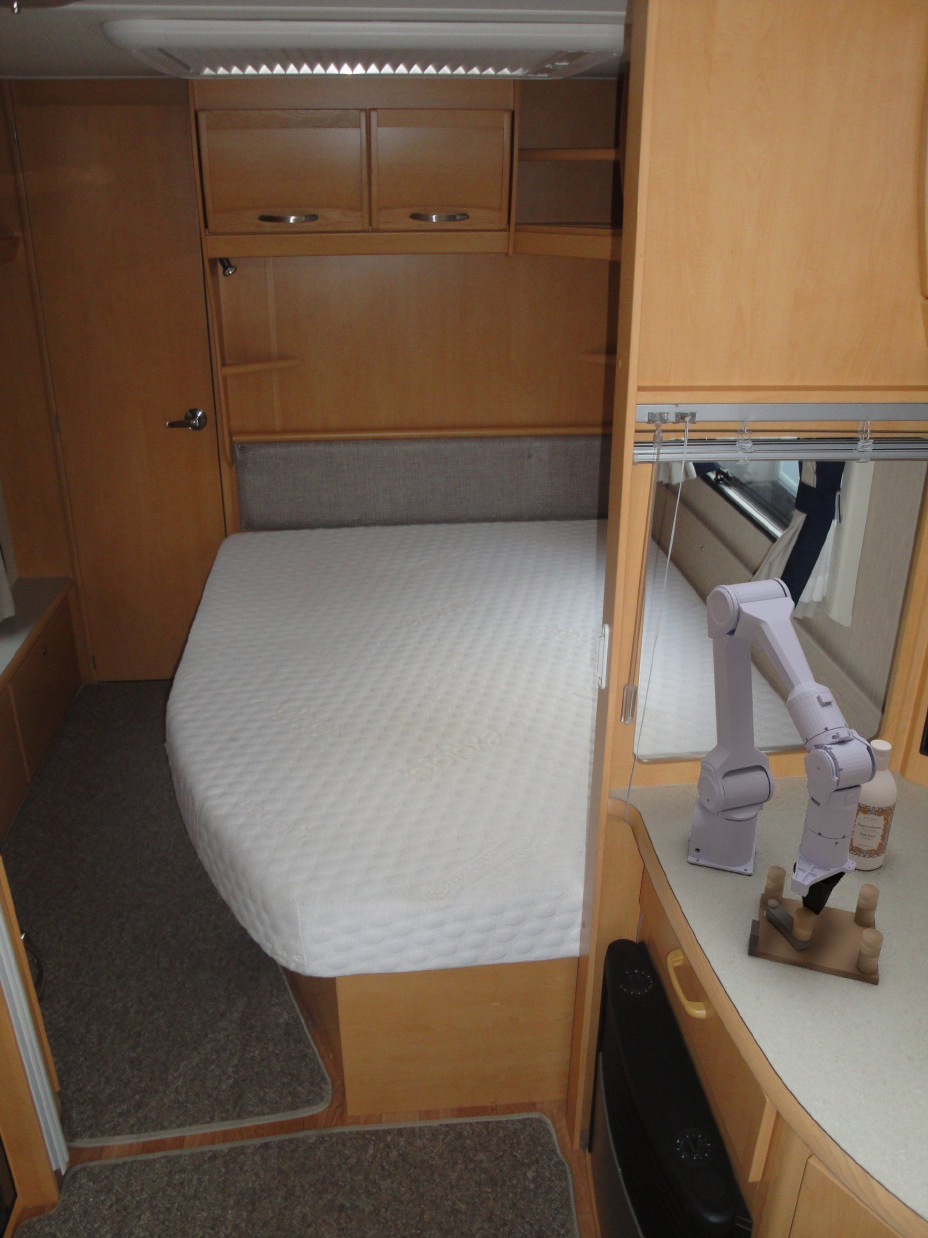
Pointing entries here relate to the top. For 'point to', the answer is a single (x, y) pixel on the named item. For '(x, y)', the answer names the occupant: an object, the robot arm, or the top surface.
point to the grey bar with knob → (792, 923)
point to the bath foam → (874, 813)
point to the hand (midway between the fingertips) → (812, 909)
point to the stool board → (822, 935)
